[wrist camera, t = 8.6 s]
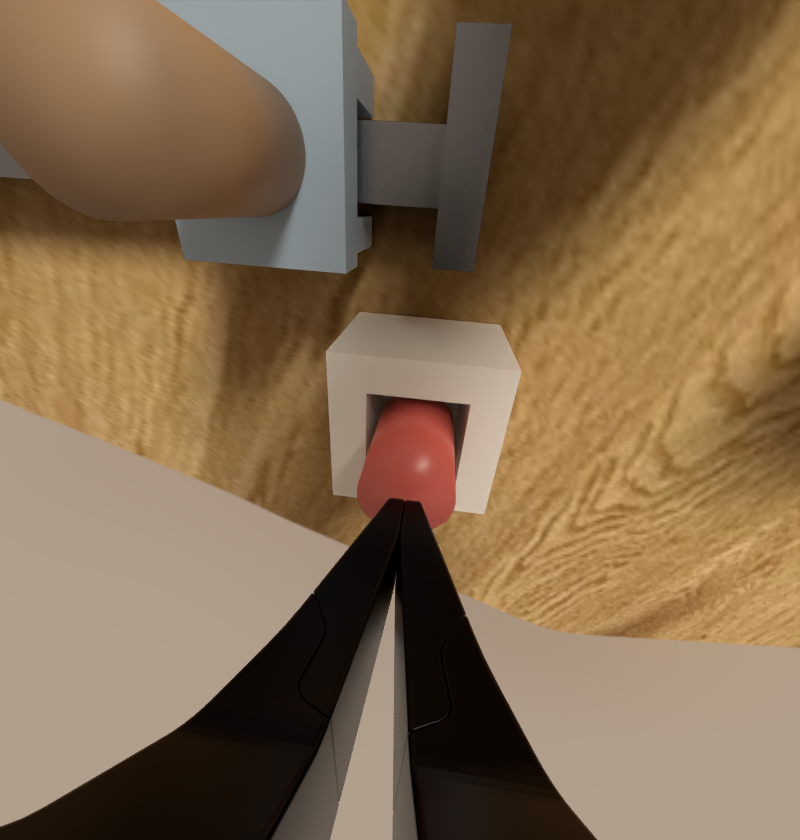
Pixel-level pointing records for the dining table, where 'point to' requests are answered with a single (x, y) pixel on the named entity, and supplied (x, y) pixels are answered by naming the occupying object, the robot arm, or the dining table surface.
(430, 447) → the button
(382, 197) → the rail
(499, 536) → the dining table surface
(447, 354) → the socket block
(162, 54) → the carriage
